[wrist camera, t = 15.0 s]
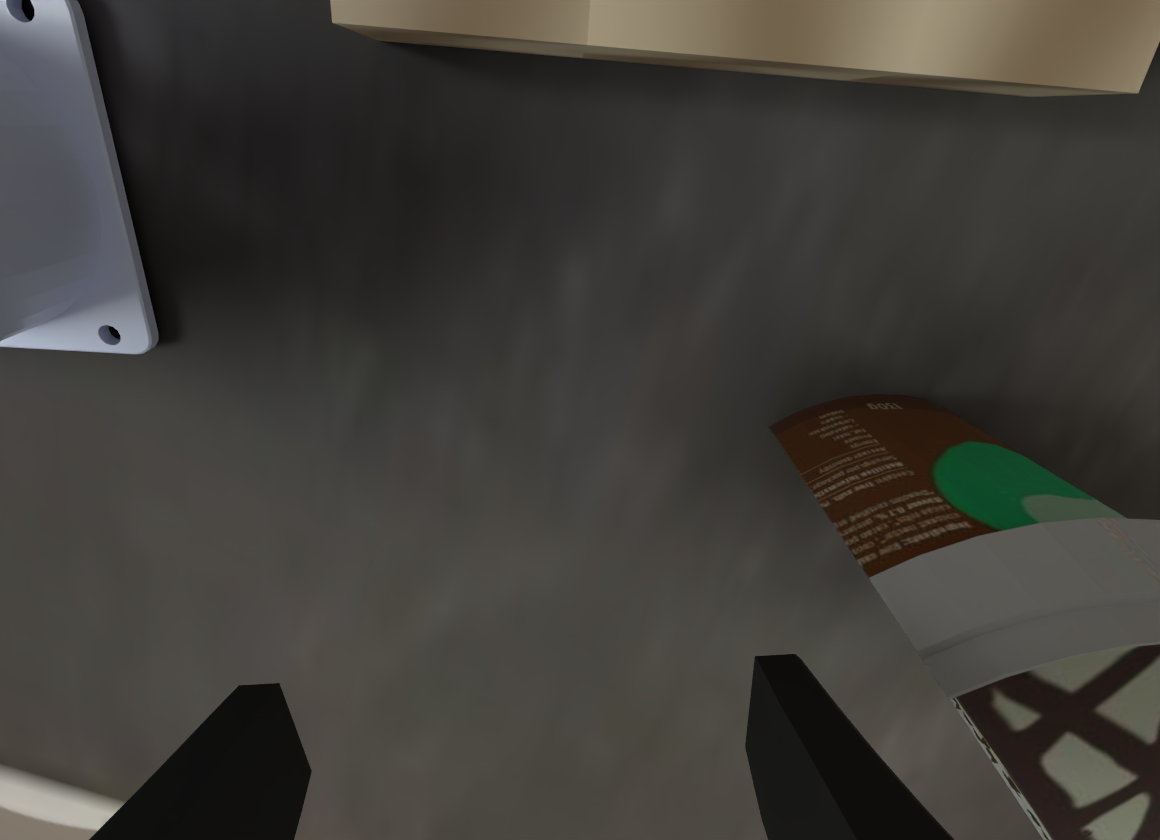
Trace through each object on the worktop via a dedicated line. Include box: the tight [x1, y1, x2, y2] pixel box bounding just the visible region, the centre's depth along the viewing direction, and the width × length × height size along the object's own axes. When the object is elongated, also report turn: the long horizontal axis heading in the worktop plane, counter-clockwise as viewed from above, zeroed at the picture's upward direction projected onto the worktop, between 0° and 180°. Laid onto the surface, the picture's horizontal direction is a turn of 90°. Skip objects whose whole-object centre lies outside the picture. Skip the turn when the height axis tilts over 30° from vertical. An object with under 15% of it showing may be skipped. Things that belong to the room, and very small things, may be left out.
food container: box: [769, 394, 1160, 840], centre depth 15 cm, size 12×6×10 cm, turn 36°
